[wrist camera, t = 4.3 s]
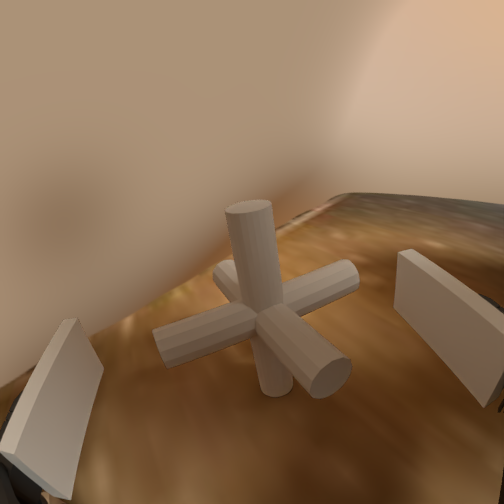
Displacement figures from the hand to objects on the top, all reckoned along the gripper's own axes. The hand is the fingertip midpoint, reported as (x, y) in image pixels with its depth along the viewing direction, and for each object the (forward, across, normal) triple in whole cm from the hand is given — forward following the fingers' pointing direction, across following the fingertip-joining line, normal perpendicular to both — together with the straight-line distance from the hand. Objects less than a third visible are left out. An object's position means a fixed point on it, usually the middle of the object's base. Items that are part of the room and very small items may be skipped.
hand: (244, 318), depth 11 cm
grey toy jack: (+2, +1, -6) cm, 7 cm away
